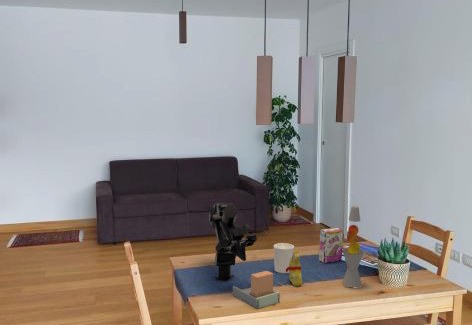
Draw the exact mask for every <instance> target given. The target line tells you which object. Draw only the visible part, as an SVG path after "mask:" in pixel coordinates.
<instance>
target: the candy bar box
mask: <svg viewBox="0 0 472 325" xmlns="http://www.w3.org/2000/svg"><path fill="white" fill-rule="evenodd" d="M343 242H344V229H341V228H339V227H335V228H324V229H320V230H319V249H318V251H319V252H318V261H319V262H320V261H321V263H322V264H329V263H328V262H331V263H335V262H334V261H338V262H340V261H339V260H341V258H342V259H343V244H344V243H343Z"/></svg>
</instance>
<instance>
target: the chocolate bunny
mask: <svg viewBox="0 0 472 325" xmlns="http://www.w3.org/2000/svg"><path fill="white" fill-rule="evenodd" d="M288 270H289V273H288V274H289V277H288V279H289V282H291V284H292V285H293V286H294V287H300V286H302V285H303V278H302V266H301V262H300V252H299V250H298V249H294V252H293V256H292V257H291V259H290V262H289V267H287V269H286V272H288Z"/></svg>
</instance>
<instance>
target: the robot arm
mask: <svg viewBox="0 0 472 325" xmlns="http://www.w3.org/2000/svg"><path fill="white" fill-rule="evenodd" d="M237 216H238V209H237V208H236V207H235V205H234V204H233V203H232V202H231V203H230V202H229V203H224V202H215V203H214V204H213V207H212V208H211V209H210V210H209V214H208V222H209V223H210V226H211V227H212V228H213V229H214V230H215V235H216V240H217V244H216V245H215V252H216V253H215V256H214V265H215V266H216V267H218V270H217V271H218V272H217V273H218V274H217V275H216V276H215V277H214V278H215V279H217V280H224V281H230V280H231V279H232V278H233V277H234V276H235V275H234V274H232V270H231V269H232V266H235V265H236V259H237V258H239V259H240V260H241V261H242V262H246V261H247V255H246V247H247V248H248V247H252V246H253V245H254V244H255V243H256V242H257V240H259V239H258V237H257V234H254V233H253V234H249V232H250V231H251V227H250V225H249V224H244V225H242V226H240V227H239V226H236V223H235V221H236V219H237ZM245 235H246V237H245ZM244 237H245V238H244Z"/></svg>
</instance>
